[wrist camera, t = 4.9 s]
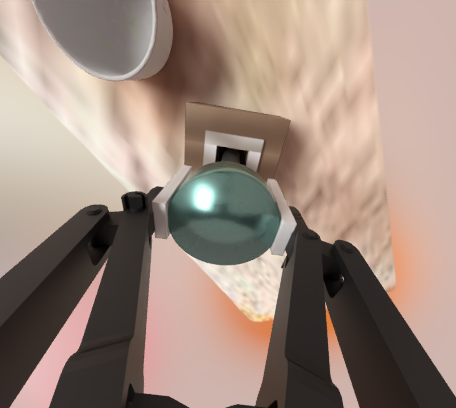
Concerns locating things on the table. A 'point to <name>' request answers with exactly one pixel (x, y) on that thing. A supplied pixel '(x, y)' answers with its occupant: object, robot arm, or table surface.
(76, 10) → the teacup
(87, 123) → the table surface
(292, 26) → the table surface
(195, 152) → the block
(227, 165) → the teal rounded knob
